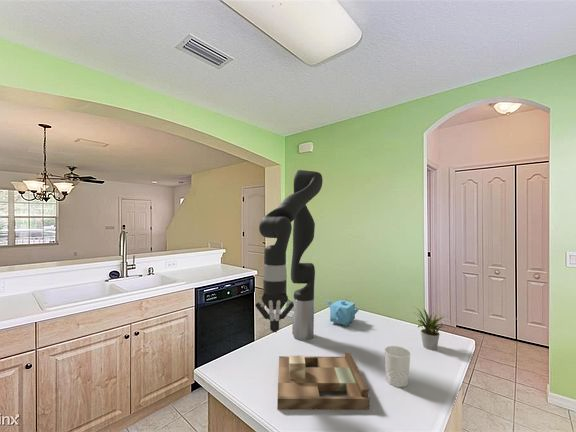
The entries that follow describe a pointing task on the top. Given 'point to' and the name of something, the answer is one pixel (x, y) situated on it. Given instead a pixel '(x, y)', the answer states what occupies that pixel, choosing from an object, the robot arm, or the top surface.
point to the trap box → (323, 385)
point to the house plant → (429, 331)
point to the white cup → (397, 365)
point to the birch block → (296, 367)
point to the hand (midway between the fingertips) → (274, 331)
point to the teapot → (342, 312)
